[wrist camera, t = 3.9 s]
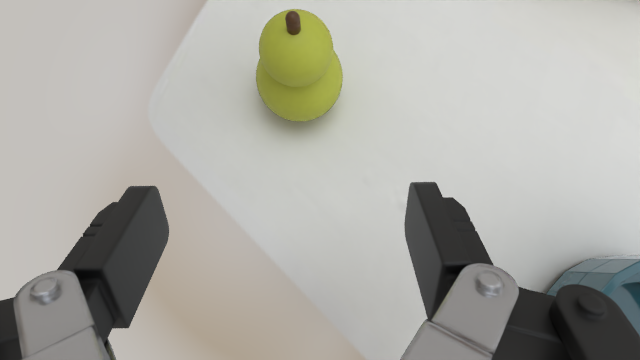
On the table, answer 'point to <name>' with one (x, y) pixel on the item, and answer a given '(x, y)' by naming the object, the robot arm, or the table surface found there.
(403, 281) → the table surface
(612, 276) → the bowl
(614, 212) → the table surface
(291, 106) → the pear
